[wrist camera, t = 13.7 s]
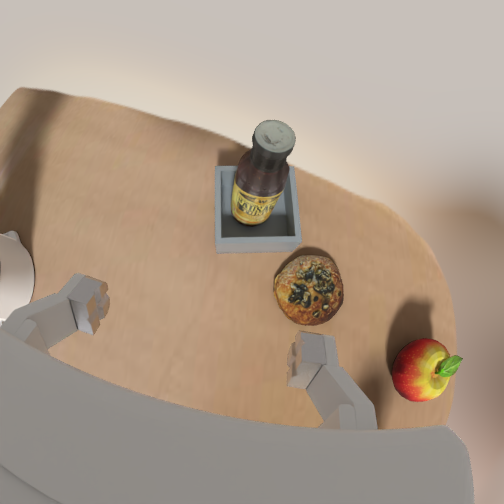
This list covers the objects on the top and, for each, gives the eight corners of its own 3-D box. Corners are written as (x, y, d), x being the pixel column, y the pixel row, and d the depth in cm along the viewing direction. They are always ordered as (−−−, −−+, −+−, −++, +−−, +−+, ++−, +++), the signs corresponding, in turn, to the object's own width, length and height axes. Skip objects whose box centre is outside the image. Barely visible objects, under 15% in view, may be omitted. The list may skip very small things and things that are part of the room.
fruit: (378, 349, 43) (412, 354, 33) (425, 329, 44) (462, 328, 34) (386, 405, 41) (419, 420, 31) (432, 382, 42) (467, 389, 32)
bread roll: (332, 334, 43) (340, 333, 38) (264, 314, 44) (264, 311, 39) (349, 268, 46) (358, 260, 41) (284, 248, 47) (287, 238, 42)
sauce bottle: (230, 229, 44) (235, 163, 25) (229, 191, 45) (234, 110, 26) (273, 228, 45) (308, 164, 25) (271, 191, 46) (299, 112, 27)
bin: (216, 253, 44) (215, 243, 38) (216, 184, 46) (215, 166, 41) (292, 251, 45) (301, 241, 39) (286, 183, 48) (293, 166, 42)
